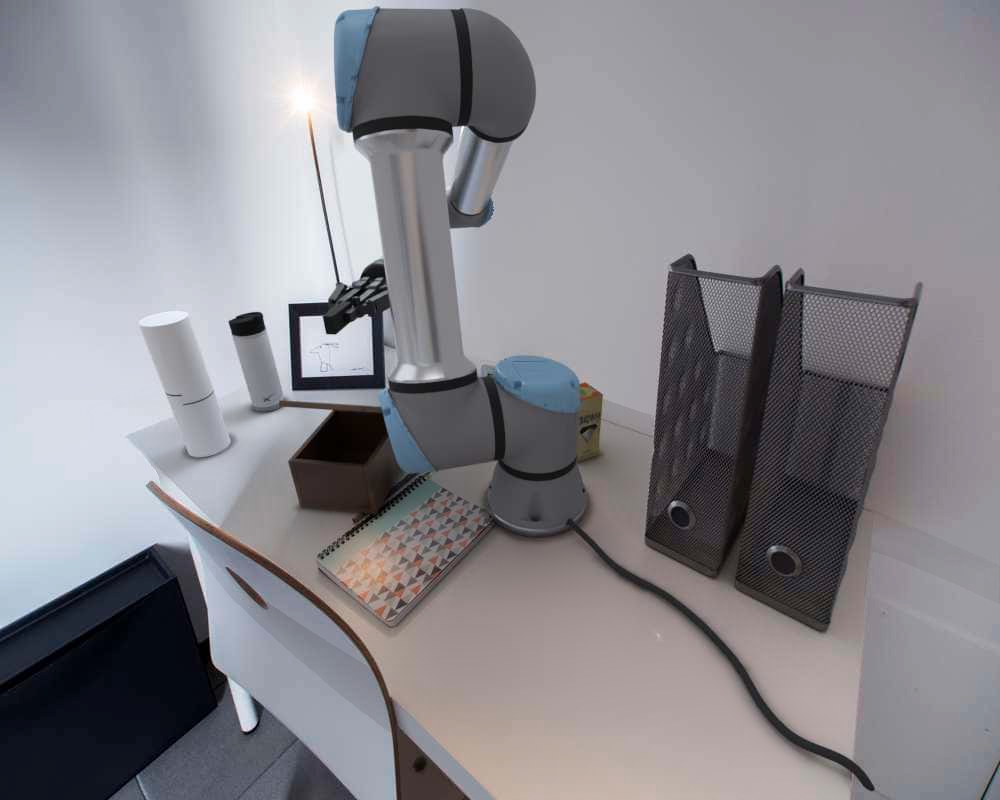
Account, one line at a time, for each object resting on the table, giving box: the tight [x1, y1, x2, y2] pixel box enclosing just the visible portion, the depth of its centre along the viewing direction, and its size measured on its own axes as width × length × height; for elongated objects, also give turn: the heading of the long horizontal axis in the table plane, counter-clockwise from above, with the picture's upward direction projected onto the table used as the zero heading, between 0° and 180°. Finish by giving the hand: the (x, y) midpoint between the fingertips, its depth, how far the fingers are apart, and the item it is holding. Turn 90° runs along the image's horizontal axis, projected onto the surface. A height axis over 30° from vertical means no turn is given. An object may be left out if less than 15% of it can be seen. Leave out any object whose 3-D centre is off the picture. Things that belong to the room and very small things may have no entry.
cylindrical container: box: [138, 310, 231, 458], centre depth 92 cm, size 7×7×25 cm
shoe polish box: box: [577, 382, 604, 463], centre depth 90 cm, size 5×5×12 cm
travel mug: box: [228, 311, 286, 413], centre depth 106 cm, size 6×7×20 cm
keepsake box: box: [287, 410, 403, 516], centre depth 86 cm, size 16×13×9 cm
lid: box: [279, 400, 383, 413], centre depth 82 cm, size 16×13×1 cm
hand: (329, 325), depth 75 cm, fingers closed
